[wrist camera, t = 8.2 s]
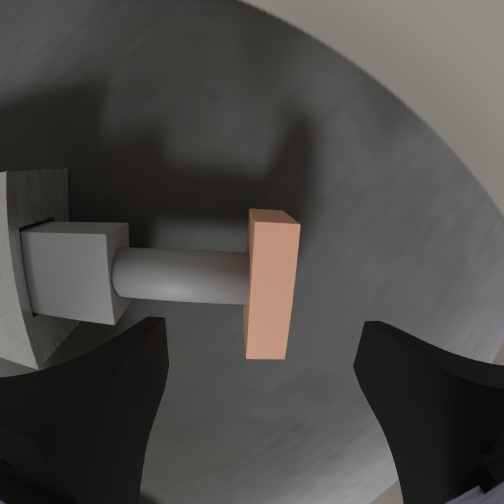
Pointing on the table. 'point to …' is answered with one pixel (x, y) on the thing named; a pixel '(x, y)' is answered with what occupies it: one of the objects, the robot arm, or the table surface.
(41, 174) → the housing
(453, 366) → the robot arm
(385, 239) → the table surface
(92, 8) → the table surface
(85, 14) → the table surface
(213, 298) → the rod with pink block
